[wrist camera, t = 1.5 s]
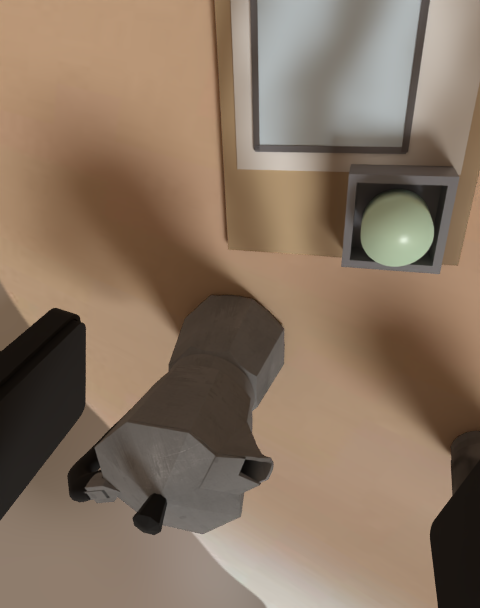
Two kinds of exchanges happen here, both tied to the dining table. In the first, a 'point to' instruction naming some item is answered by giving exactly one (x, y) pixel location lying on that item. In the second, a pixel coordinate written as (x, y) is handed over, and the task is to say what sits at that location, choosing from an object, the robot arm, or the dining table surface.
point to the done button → (396, 228)
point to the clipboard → (341, 110)
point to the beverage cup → (464, 457)
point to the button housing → (419, 179)
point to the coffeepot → (192, 425)
